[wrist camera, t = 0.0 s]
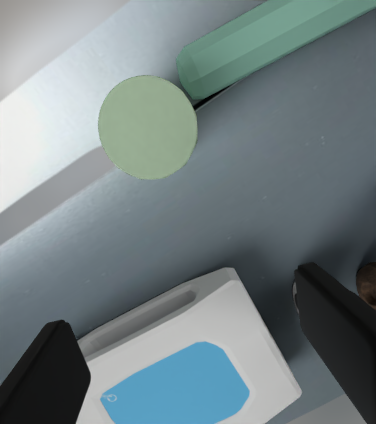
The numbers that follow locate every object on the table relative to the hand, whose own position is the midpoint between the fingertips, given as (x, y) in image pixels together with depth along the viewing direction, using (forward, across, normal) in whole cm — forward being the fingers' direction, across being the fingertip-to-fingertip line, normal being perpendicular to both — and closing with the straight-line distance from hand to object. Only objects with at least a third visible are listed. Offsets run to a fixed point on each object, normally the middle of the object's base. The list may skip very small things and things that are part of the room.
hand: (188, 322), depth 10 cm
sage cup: (+20, 0, -8) cm, 22 cm away
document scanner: (+20, +6, +23) cm, 31 cm away
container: (+21, -15, -16) cm, 30 cm away
